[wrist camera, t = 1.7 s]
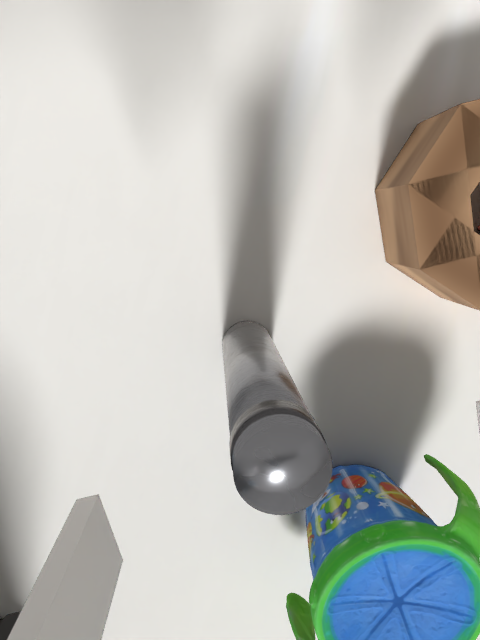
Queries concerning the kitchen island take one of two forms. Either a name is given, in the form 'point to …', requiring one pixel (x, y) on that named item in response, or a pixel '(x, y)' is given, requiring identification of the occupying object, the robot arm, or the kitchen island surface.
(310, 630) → the snack cup
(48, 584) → the robot arm
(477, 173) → the bead
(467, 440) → the kitchen island surface
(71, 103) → the kitchen island surface
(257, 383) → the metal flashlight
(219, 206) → the kitchen island surface
